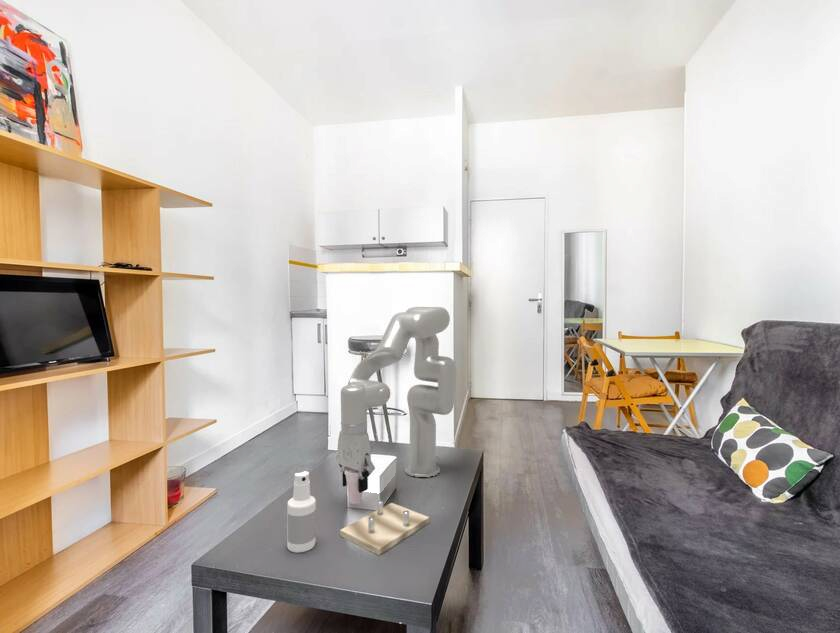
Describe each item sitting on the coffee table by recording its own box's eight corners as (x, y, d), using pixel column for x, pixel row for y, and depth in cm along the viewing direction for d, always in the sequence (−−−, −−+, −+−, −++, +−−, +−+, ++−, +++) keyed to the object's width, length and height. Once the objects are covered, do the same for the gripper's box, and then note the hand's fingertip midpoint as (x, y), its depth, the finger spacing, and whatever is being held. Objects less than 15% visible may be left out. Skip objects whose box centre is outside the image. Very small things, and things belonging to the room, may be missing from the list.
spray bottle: (291, 556, 100) (291, 481, 99) (284, 542, 105) (284, 471, 105) (319, 548, 103) (319, 475, 103) (310, 535, 109) (311, 466, 109)
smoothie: (340, 501, 124) (339, 454, 123) (357, 493, 129) (357, 448, 128) (353, 508, 120) (353, 460, 119) (370, 500, 124) (370, 454, 124)
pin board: (391, 507, 125) (391, 490, 125) (429, 522, 116) (429, 504, 116) (339, 535, 109) (340, 516, 109) (379, 555, 100) (379, 534, 100)
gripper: (325, 425, 126) (326, 484, 126) (365, 436, 115) (366, 501, 116) (344, 419, 132) (345, 476, 132) (384, 429, 121) (385, 491, 122)
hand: (355, 487), depth 124 cm, fingers closed on smoothie, 6 cm apart
